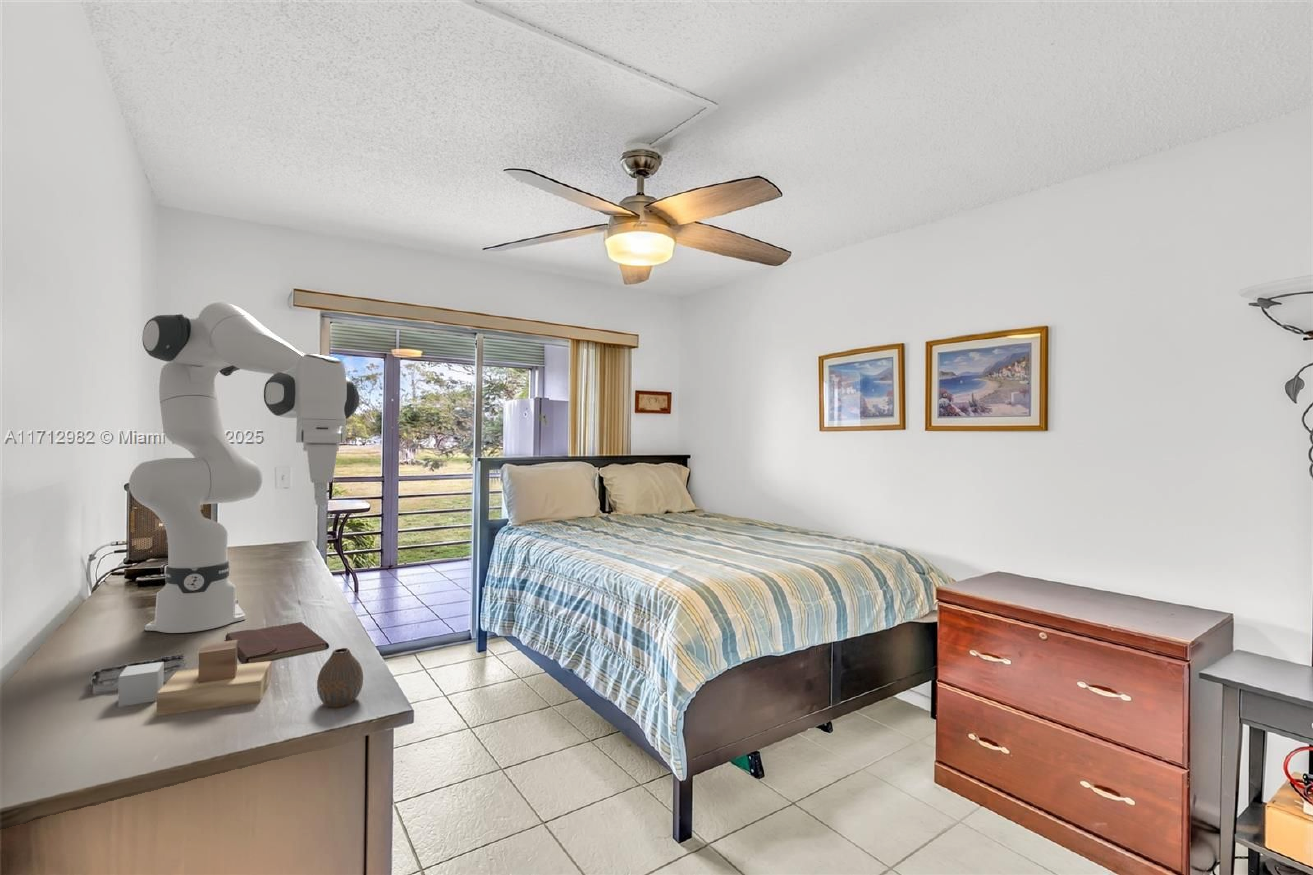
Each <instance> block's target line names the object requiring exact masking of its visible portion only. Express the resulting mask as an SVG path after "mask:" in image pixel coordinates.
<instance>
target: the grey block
mask: <svg viewBox="0 0 1313 875" xmlns="http://www.w3.org/2000/svg"><path fill="white" fill-rule="evenodd" d="M164 669H165V668H164V662H158V663H150V664H142V665H135V666H127V667H126V668H125V669H124V671H123V672H122V673H121V675H120V676H119V677H118V679H119V690H118V703H117V706H118V708H119V707H126V705H127V706H133V705H139V704H140V705H141V704H145V703H151V702H152V701H153V702H157V692H158V691H159V690H160V689H161V688H162V687H163V686H164V682H163V680H164V672H165V670H164Z"/></svg>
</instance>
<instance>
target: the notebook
mask: <svg viewBox="0 0 1313 875" xmlns="http://www.w3.org/2000/svg"><path fill="white" fill-rule="evenodd" d="M232 640H238V644H237V657H239V659H240V660H241V661H242V663H243V664H248V663H257V662H266V661H272V660H275V659H280V658H286V657H289V656H294V655H295V656H296V655H300V654H304V653H310V652H315V651H318V650H324V649H329V648H330V644H329V642H327V641H326V640H325V639H323V638H322V637H321V636H319V635H318V634H317V633H316V632H315V631H314V630H312V629H311V628H309V627H308V626H307V625H306V624H304V623H303V622H302V621H298V622H293V623H287V624H281V625H274V626H269V627H263V628H257V629H245V630H238V631H232V632H227V633H226V634H225V641H232Z"/></svg>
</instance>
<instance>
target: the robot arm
mask: <svg viewBox="0 0 1313 875" xmlns="http://www.w3.org/2000/svg"><path fill="white" fill-rule="evenodd" d="M141 337H142V345H143V348H144V350H145V352H147V355H149V356H150V357H151V358H154V359H157V360H160V361H163V362H166V363H165V364H164V365H163V366H162V368H161V370H160V374H159V375H160V376H159V384H158V385H159V386H158V389H159V390H158V394H159V395H158V396H159V406H160V413H161V414H160V415H161V422H162V431H163V433H164V436H165V437H166V439H167V440H168V441H169V442H171V443H173V444H174V445H177V446H179V447H182V448H184V449H185V450H187V451H188V452H189V453H190V454H191V455H192V456H193V457H166V458H160V459H153V460H149V461H144V462H143V461H142V462H140V464H138V465H137V466H136V467H135V468H134V469H133V471H132V472H131V474H130V477H129V480H128V487H129V492H130V494H131V496H132V497H133V499H134V500H135V501H137V502H138V503H139V504H140V505H142V506H144V507H146V508H147V509H149V510H150V511H152V512H153V513H154V514H155V515H156V516H157V517H158V519H159V520H160V521H161V523H162V525H163V527H164V529H165V532H166V538H167V551H168V552H167V556H168V557H167V558H168V560H167V561H168V562H167V563H168V564H167V566H166V567H165V571H164V576H165V578H164V581H165V582H164V583H165V585H164V586H163V587H162V588H161V589H160V590H158V592H157V593H156V598H155V610H154V612H155V613H154V620H152V621H150V622H149V623H147V624H145V626H144V630H145V631H152V632H153V631H154V632H161V633H167V634H180V633H181V634H182V633H183V634H184V633H194V632H201V631H207V630H213V629H215V628H216V629H217V628H221V627H223V626H226V625H229V624H232V623H236V622H240V621H243V620H246V614H245V612H244V611H243V609H242V608H241V607H240V605H239V604H238V599H237V598H236V585H234V583H232V582H231V581H230V579H229V576H230V562H229V561H228V531H227V528H226V527H225V526H224V525H223V524H221V522H218V521H216V520H213V519H210V518H207V517H204V516H203V513H202V511H201V505H209V504H212V505H213V504H225V503H234V502H235V503H236V502H238V501H242V500H246V499H250V498H253V497H255V495H256V494H257V493H258V492H259V491H260V489H261V487H262V483H263V475H262V471H261V469H260V467H259V466H258V464H257V463H256V462H255V461H254V460H252V459H250V458H247V456H245V455H243V454H242V453H241V452H239V451H238V450H237V449H236V447H235V446H234V445H233V444H232V443H231V441H230V440H229V439H228V437H227V435H226V433H225V431H224V427H223V423H222V421H221V415H220V410H219V402H218V397H217V391H216V387H215V378H216V377H217V375H218V373H220V374H221V375H222V376H224V377H229V376H231V375H232V374H233V373H234V372H236V371H237V372H238V371H240V370H244V371H248V372H249V371H250V372H254V373H261V374H268V375H271V377H270V378H269V379H268V380H267V381H266V382H265V384H264V389H263V402H264V404H265V406H266V407H267V409H268V410H269V411H270V413H272V414H273V415H274V416H276V417H281V418H288V419H296V430H295V432H296V434H295V442H296V443H302V444H303V445H302V446H303V449H302V450H303V452H307V453H306V454H307V461H308V462H307V463H308V469H309V478H310V482H311V483H313V488H314V500H315V505H317V506H325V505H326V504H327V493H328V484H329V483H332V482H333V479H334V475H335V469H336V461H337V455H338V453H337V452H338V451H339V447H340V444H345V443H346V442H347V441H346V440H347V439H346V438H347V420H348V419H349V418H350V417H352V415H353V414H355V412H356V411H357V409H358V407H359V405H360V394H359V391H358V389H357V387H356V386H355V384H354V382H353V381H352V380H351V379H350V378H348V377H347V374H346V368H345V366H344V365H345V364H344V362H343V361H342V360H340V358H337V357H333V356H327V355H322V354H315V353H314V354H313V353H307V354H306V353H305V352H303V351H301V350H300V349H299V348H297V347H295V346H293V345H291V344H290V343H289V342H287V341H285V340H283V339H282V338H281V337H279V336H278V335H276V334H275V333H273V332H272V331H271V330H269V329H268V328H266V327H265V326H264V325H262V323H261V322H259V321H258V320H257V319H256V318H255V317H254V316H252V315H251V314H250V313H248V312H247V311H245V310H243V309H242V308H240V307H239V306H237V305H234V304H233V303H232V304H231V303H228V302H224V301H222V302H221V301H220V302H213V303H209V304H208V305H206V306H205V307H204V308H203V309H202V310H201V311H200V312H199V315H198V316H197V317H196V318H194V317H193V318H192V317H188V316H184V315H183V314H182V313H181V314H162V315H161V314H160V315H159V314H158V315H155V316H154V317H152V318H150V319H149V320H147V322H146V323H145V325H144V327H143V331H142V336H141Z"/></svg>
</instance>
